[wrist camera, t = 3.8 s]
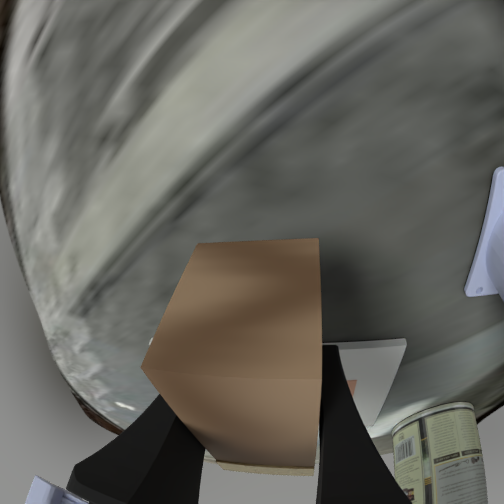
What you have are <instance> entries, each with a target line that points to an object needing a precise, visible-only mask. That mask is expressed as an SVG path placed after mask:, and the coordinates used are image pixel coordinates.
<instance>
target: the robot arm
mask: <svg viewBox="0 0 504 504" xmlns="http://www.w3.org/2000/svg"><path fill="white" fill-rule="evenodd" d="M464 291H465V294H466V295H467V296H468V297H473V296H482V295H490V294H499V295H500V296H501V298H502V300H503V302H504V167H499V168H497V169H496V170H495V172H494V174H493V179H492V185H491V190H490V196H489V201H488V206H487V210H486V215H485V219H484V223H483V227H482V231H481V235H480V239H479V243H478V246H477V250H476V253H475V257H474V260H473V263H472V267H471V270H470V273H469V276H468V279H467V282H466V285H465V288H464ZM319 438H320V462H319V476H318V487H317V498H316V504H413V503H412V502H411V501H410V500H409V498H408V497H407V496H406V494H405V493H404V492H403V490H402V489H401V487H400V486H399V485H398V483H397V482H396V480H395V479H394V477H393V476H392V474H391V472H390V471H389V469H388V468H387V466H386V464H385V463H384V461H383V459H382V458H381V456H380V454H379V453H378V451H377V449H376V447H375V445H374V444H373V442H372V440H371V438H370V436H369V434H368V432H367V430H366V428H365V425H364V423H363V421H362V419H361V417H360V414H359V412H358V410H357V407H356V405H355V402H354V400H353V397H352V394H351V391H350V389H349V386H348V383H347V380H346V377H345V374H344V370H343V367H342V363H341V359H340V354H339V348H338V346H337V345H322V385H321V400H320V414H319ZM204 454H205V447H204V446H203V445H202V444H201V443H200V442H199V441H198V439H197V438H196V437H195V436H194V435H193V434H192V433H191V431H190V430H189V429H188V428H187V427H186V426H185V424H184V423H183V422H182V421H181V420H180V418H179V417H178V416H177V415H176V414H175V412H174V411H173V410H172V409H171V407H170V406H169V405H168V404H167V402H166V401H165V400H164V398H163V397H162V396H161V394H159V395H158V396H157V398H156V399H155V400H154V401H153V402H152V403H151V405H150V406H149V407H148V408H147V409H146V410H145V411H144V412H143V413H142V414H141V415H140V416H139V417H138V418H137V419H136V420H135V421H134V422H133V423H132V424H131V425H130V426H129V427H128V428H127V429H126V430H125V431H123V432H122V433H121V434H120V435H119V436H118V437H116V438H115V439H114V440H113V441H111V442H110V443H108V444H107V445H106V446H104V447H103V448H102V449H100V450H99V451H97V452H96V453H94V454H93V455H91V456H90V457H88V458H86V459H85V460H83V461H81V462H79V463H78V464H76V465H75V466H74V469H73V471H72V474H71V476H70V479H69V482H68V484H67V487H66V489H67V490H68V491H67V490H65V489H63V488H61V487H59V486H56V485H54V484H52V483H50V482H48V481H46V480H45V479H43V478H41V477H39V476H37V475H35V477H34V480H33V483H32V485H31V488H30V491H29V494H28V496H27V499H26V502H25V504H198V499H199V489H200V481H201V473H202V466H203V460H204ZM82 498H83V499H85V500H87V501H89V503H88V502H86V501H84V500H82Z"/></svg>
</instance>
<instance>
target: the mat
mask: <svg viewBox="0 0 504 504" xmlns="http://www.w3.org/2000/svg"><path fill="white" fill-rule="evenodd" d="M152 340H153V338H151V340H150V343H149V345H150V344H151V342H152ZM322 345H337V346H338V348H339V354H340V359H341V363H342V367H343V370H344V374H345V377H346V380H347V383H348V386H349V389H350V391H351V394H352V397H353V400H354V402H355V405H356V407H357V410H358V412H359V414H360V417H361V419H362V421H363V423H364V425H365V427H367V426H373V425H374V423H375V421H376V419H377V417H378V415H379V413H380V410H381V408H382V406H383V404H384V402H385V399H386V397H387V395H388V392H389V390H390V388H391V385H392V383H393V380H394V378H395V375H396V373H397V370H398V368H399V365H400V363H401V360H402V357H403V354H404V352H405V349H406V346H407V344H406V339H405V338H401V339H389V340H375V341H359V342H338V343H322ZM318 429H319V426H318Z"/></svg>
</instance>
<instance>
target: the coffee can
mask: <svg viewBox="0 0 504 504" xmlns="http://www.w3.org/2000/svg"><path fill="white" fill-rule="evenodd" d="M392 437H393V452H394V469H395V480H396V482H397V483H398V485H399V486H400V487H401V489H402V490H403V492H404V493H405V494H406V496H407V497H408V498H409V500H410V501H411V502H412V503H413V504H488V500H487V499H488V498H487V487H486V479H485V478H486V477H485V469H484V462H483V455H482V450H481V444H480V438H479V434H478V428H477V423H476V419H475V414H474V407H473V405H472V404H471V403H469V402H454V403H448V404H444V405H440V406H436V407H433V408H430V409H427V410H424V411H422V412H419V413H416V414H414V415H412V416H410V417H408V418H406V419H405V420H403V421H401V422H400V423H399V424H397V425H396V426H395V427H394V428H393V430H392Z"/></svg>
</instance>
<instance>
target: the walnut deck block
mask: <svg viewBox="0 0 504 504" xmlns="http://www.w3.org/2000/svg"><path fill="white" fill-rule="evenodd" d="M141 369H142V370H143V372H144V373H145V374H146V376H147V377H148V378H149V380H150V381H151V383H152V384H153V385H154V387H155V388H156V389H157V391H158V392H159V393H160V394H161V396H162V397H163V398H164V400H165V401H166V402H167V404H168V405H169V406H170V407H171V409H172V410H173V411H174V412H175V414H176V415H177V416H178V417H179V418H180V420H181V421H182V422H183V423H184V424H185V426H186V427H187V428H188V429H189V430H190V431H191V433H192V434H193V435H194V436H195V437H196V438H197V439H198V441H199V442H200V443H201V444H202V445H203V446H204V447H205V448H206V449H207V451H208V452H209V453H210V454H211V455H212V456H213V457H214V458H215V459H216V463H217V464H218V465H219V466H220V467H221V468H222V469H223V470H231V471H238V472H248V473H258V474H272V475H294V476H313V475H314V466H315V457H316V447H317V437H318V426H319V414H320V400H321V385H322V310H321V278H320V256H319V238H310V239H285V240H262V241H240V242H218V243H198V244H197V246H196V248H195V250H194V252H193V254H192V256H191V258H190V260H189V262H188V264H187V266H186V268H185V270H184V272H183V274H182V277H181V279H180V281H179V283H178V285H177V287H176V289H175V291H174V293H173V296H172V298H171V300H170V302H169V304H168V306H167V309H166V311H165V313H164V315H163V317H162V320H161V322H160V324H159V326H158V328H157V331H156V333H155V335H154V337H153V340H152V342H151V344H150V347H149V349H148V351H147V353H146V356H145V358H144V360H143V363H142V365H141Z"/></svg>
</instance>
